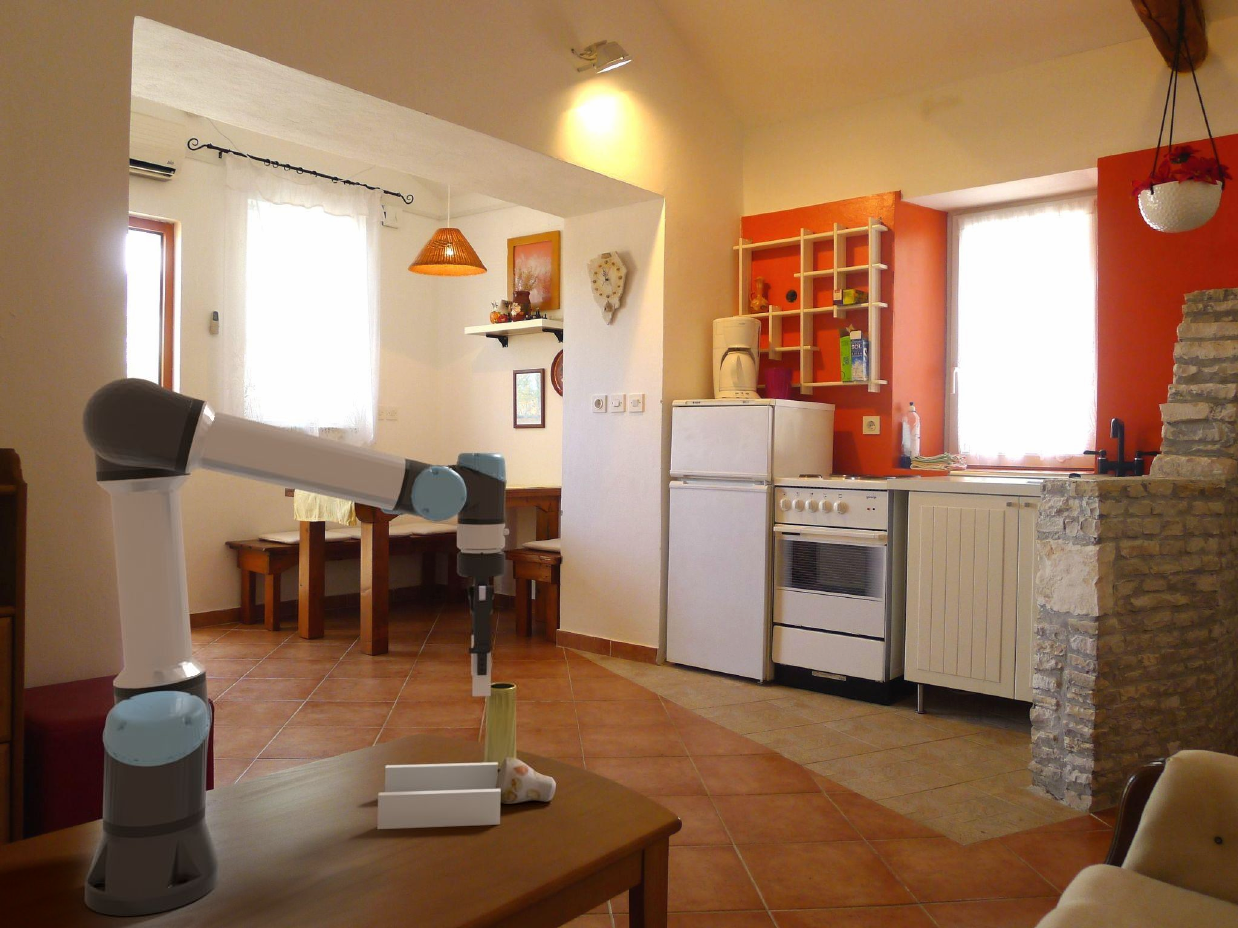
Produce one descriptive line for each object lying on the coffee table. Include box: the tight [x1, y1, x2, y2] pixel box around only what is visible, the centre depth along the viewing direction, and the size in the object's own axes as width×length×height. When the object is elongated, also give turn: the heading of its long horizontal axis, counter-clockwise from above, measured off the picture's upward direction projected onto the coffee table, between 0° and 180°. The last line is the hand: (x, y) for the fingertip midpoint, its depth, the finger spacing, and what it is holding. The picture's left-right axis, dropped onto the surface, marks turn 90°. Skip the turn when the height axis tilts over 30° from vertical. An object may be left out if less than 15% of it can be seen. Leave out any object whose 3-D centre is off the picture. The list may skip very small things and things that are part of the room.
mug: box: [495, 757, 557, 805], centre depth 150 cm, size 8×10×10 cm
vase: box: [482, 681, 517, 771], centre depth 168 cm, size 6×6×14 cm
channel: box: [376, 762, 501, 830], centre depth 146 cm, size 18×14×5 cm
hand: (480, 684), depth 147 cm, fingers open, 13 cm apart
